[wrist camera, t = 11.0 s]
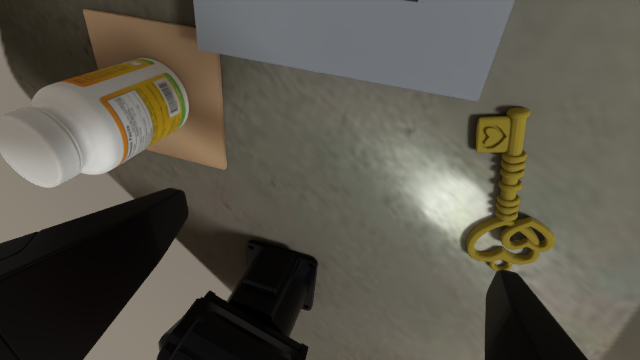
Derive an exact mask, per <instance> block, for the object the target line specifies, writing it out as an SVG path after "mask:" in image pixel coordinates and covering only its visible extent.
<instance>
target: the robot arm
mask: <svg viewBox="0 0 640 360" xmlns="http://www.w3.org/2000/svg"><path fill="white" fill-rule="evenodd" d="M187 217H188V206H187V201H186V196H185V193H184V191H182V190H180V189H175V188H167V189H164V190H161V191H158V192H155V193H152V194H149V195H146V196H143V197H140V198H137V199H134V200H131V201H128V202H125V203H122V204H119V205H116V206H113V207H110V208H107V209H104V210H101V211H98V212H95V213H92V214H89V215H86V216H83V217H80V218H77V219H74V220H71V221H68V222H65V223H62V224H59V225H56V226H52V227H49V228H46V229H43V230H41V231H39V232H34V233H32V234H28V235H25V236H23V237H19V238H16V239H13V240H10V241H6V242H3V243H0V360H83V359H84V358H85V356H86V355H87V354H88V353H89V351H90V350H91V349H92V348H93V346H94V345H95V344H96V342H97V341H98V339H100V337H101V336H102V335H103V333H104V332H105V331H106V330H107V328H108V327H109V326H110V324H111V323H112V322H113V321H114V319H115V318H116V317H117V315H118V314H119V313H120V311H121V310H122V309H123V308H124V307H125V305H126V304H127V302H128V301H129V300H130V299H131V298H132V296H133V295H134V293H135V292H136V291H137V290H138V288H139V287H140V286H141V285H142V283H143V282H144V281H145V280H146V278H147V277H148V276H149V274H150V273H151V272H152V271H153V269H154V268H155V267H156V266H157V264H158V263H159V261H160V260H161V259H162V257H163V256H164V254H165V253H166V251H167V250H168V248H169V246H170V245H171V243H172V242H173V240H174V239H175V237H176V235H177V234H178V232H179V231H180V229H181V227H182V226H183V224H184V223H185V221H186V219H187ZM246 262H247V271H246V272H245V274H244V275H243V277H242V278H241V280H240V281H239V283H238V284H237V286H236V287H235V289H234V291H233V292H232V294H231V295H230V297H229V298H228V300H227V301H225V300H223V299H221V298H220V297H218V296H216V295H215V293H213V292H212V291H209V292H208V293H207V294H206V295H205V296H204V298H202V297H201V298H200V299H196V301H195V302H194V303H193V305H192V306H191V307H190V309H189V310H188V311H187V312H186V314H185V315H184V316H183V317H182V318H181V319H180V320H179V321H178V322H177V323H176V324H175V325H174V326H172V327H171V328H170V329H169V330H168V331H167V332H166V333H165V334H164V335H163V336H162V337H161V339H160V341H159V351H160V352H159V354H158V357H157V360H305V359H306V355H307V351H308V346H306V345H304V344H303V343H302V344H300V343H298V342H297V341H295V340H293V339H291V338H290V337H289V336H290V334H291V331H292V329H293V327H294V324H295V322H296V320H297V317H298V315H299V312H300V310H301V309H304V310H307V311H308V310H311V308H312V305H313V298H314V290H315V282H316V275H317V267H318V262H317V260H315V259H314V258H311V257H307V256H304V255H301V254H297V253H294V252H291V251H287V250H284V249H281V248H277V247H274V246H271V245H267V244H264V243H261V242H257V241H254V240H249V241H248V243H247V244H246ZM310 263H311V264H310ZM485 360H588V359H587V358H586V357H585V355H584V354H583V353H582V352H581V350H580V349H579V348H578V347H577V345H576V344H575V343H574V342H573V341H572V339H571V338H570V337H569V336H568V334H567V333H566V332H565V331H564V330H563V328H562V327H561V326H560V325H559V323H558V322H557V321H556V320H555V318H554V317H553V316H552V315H551V314H550V312H549V311H548V310H547V309H546V307H545V306H544V305H543V304H542V303H541V301H540V300H539V299H538V298H537V296H536V295H535V294H534V293H533V291H532V290H531V289H530V288H529V287H528V285H527V284H526V283H525V282H524V280H523V279H522V278H521V277H520V276H519V275H518V274H517V273H515V272H512V271H508V270H504V269H500V270H498V271H497V272H496V274H495V276H494V278H493V280H492V282H491V284H490V286H489V289H488V291H487V295H486V315H485Z"/></svg>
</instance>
